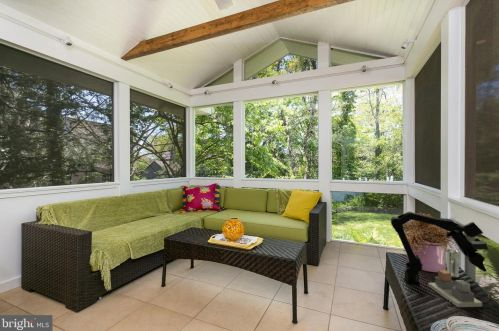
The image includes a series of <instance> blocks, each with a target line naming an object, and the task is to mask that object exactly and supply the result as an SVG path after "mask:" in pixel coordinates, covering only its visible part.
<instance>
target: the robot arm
mask: <svg viewBox="0 0 499 331" xmlns="http://www.w3.org/2000/svg"><path fill="white" fill-rule="evenodd" d="M410 221H416V222H419V223H420V222H421V223H424V224H429V225H433V226H435V227H438V228H439V229H440V228H441V230H442V229H443V230H444V231H446V232H445V233H444V235H445V236H446V238H450V237H451V239H452V240H453V242H454V243H455V244H456V245H457V247H458V248H459V251H460V252H461V253H462V254H463V255H464V256H466V259H467V260H468V261H469V262H470V265H474V266H475V267H476V268H478V269H480V270H481V271H482V272H484V273H486V272H487V269H486V266H485V264H484V261H486V259H485V257H484V256H483V255H482V254H481V253H480V252H478V250H485V251H486V250H489V247H488V244H487V242H486V241H485V240H483V239H480V238H478V237H477V236H480V235H482V234H484V232H483V230H482V229H481V228H480V227H479V226H478V225H477V224H476V223H475V222H474V221H470V222H469V223H466V224H464V225H462V224H460V223H457V222H455V221H454V220H452V219H450V218H445V217H444V218H443V217H442V218H441V217H440V218H439V217H432V216H428V215H424V214H420V213H417V212H416V213H415V212H412V211H407V212H405V213H403V214H399V215H397V216H396V215H395V216H392V217H391V218H390V223H391V224H390V225H391V226H392V227H393V229H394V231H395V232H396V233H397V235H398V237H399V239H400V242H401V244H402V246H403V249H404V251H405V253H406V255H407V259H408V262H405V264H404V266H405V269H404V277H402V279H403V280H404V281H405V282H406V283H408V284H409V285H421V282H420V274H419V272H421V271H422V270H423V267H422V266H424V265H423V263H422V260H421V258H420V256H419V254H417V255H416V254H415V252H414V250H413V248H412V246H411V244H410V242H409V239H408V237H407V235H406V232H405V228H404V226H403V225H405V224H406V223H409V222H410ZM468 237H469V238H471V239H472V238H473V240H471V241H470V239H469V238H468Z"/></svg>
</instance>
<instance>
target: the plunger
mask: <svg viewBox="0 0 499 331" xmlns="http://www.w3.org/2000/svg"><path fill="white" fill-rule="evenodd" d="M454 282H455V289H456V290H458V291H459V292H461V293H470V292H471V284H470V283H469V282H467V281H466V280H464V279H459V280H458V279H456V280H454Z"/></svg>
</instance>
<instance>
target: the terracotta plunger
mask: <svg viewBox="0 0 499 331" xmlns="http://www.w3.org/2000/svg"><path fill="white" fill-rule="evenodd" d="M437 277H438V278H439V279H441V280H442V281H444V282H451V280H452V277H451V273H450V272H448V271H447V269H439V270H438V269H437Z"/></svg>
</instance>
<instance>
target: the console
mask: <svg viewBox="0 0 499 331" xmlns="http://www.w3.org/2000/svg"><path fill="white" fill-rule="evenodd" d="M427 284H428V287H429V288H430V289H432V290H433V291H435V292H436V293H437V294H439V295H440V296H441V297H442V298H444V299H445V300H447V301H448V300H449V302H450V303H451V302H452V303H451V304H452V305H454V306H455V307H457V308H476V307H477V308H478V307H479V308H481V307H483V302H482V301H480V300H479V299H477V298H475V293H473V292H472V291H470V293H461V292H459V291H458V290H456V289H455V280H452V279H451V282H444V281H442V280H441V279H439V278H438V276H434V282H428V283H427Z"/></svg>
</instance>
